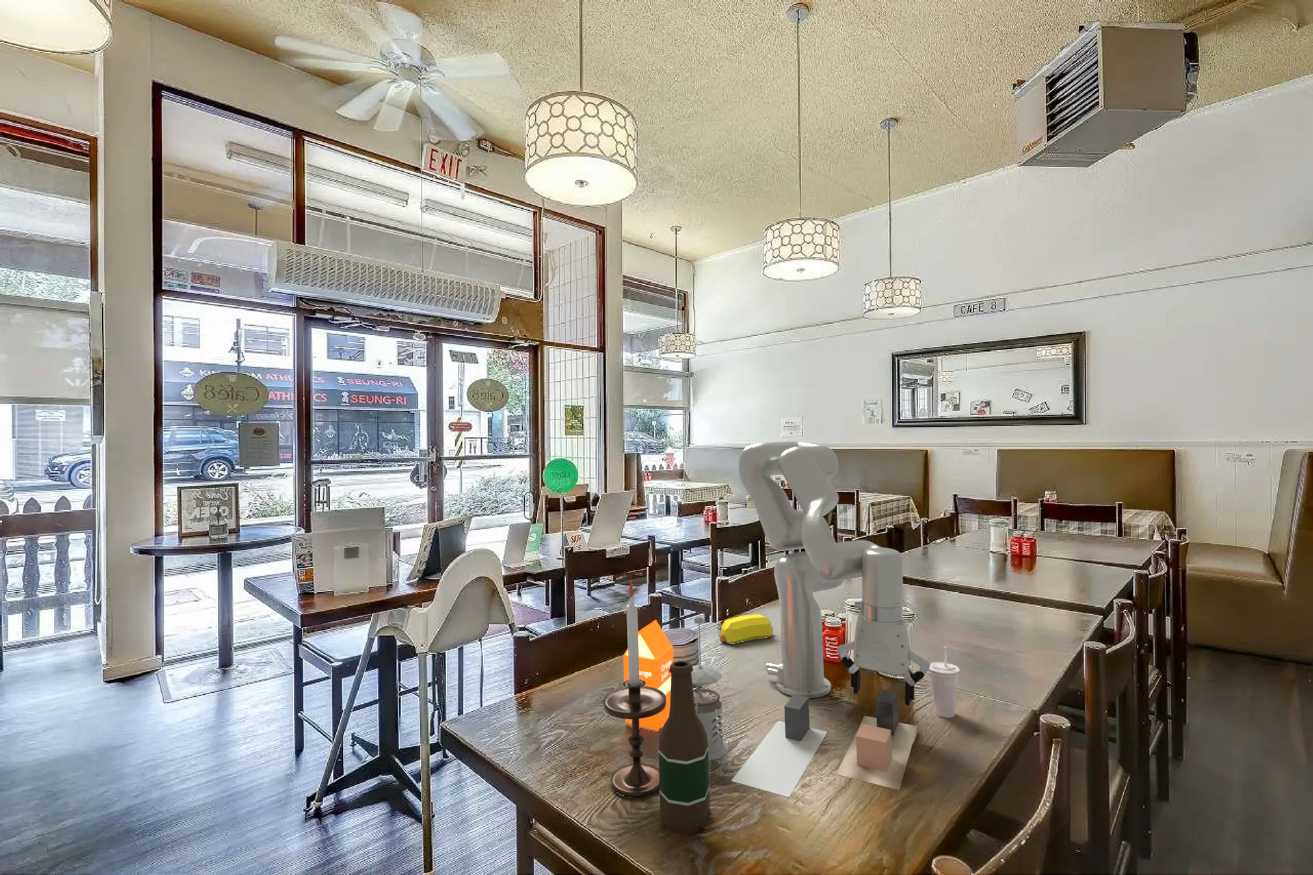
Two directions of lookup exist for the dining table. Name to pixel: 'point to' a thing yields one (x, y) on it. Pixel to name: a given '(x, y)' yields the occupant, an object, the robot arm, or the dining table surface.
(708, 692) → the french press
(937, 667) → the smoothie
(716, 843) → the dining table surface
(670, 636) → the can
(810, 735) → the grey strip
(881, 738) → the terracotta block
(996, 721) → the dining table surface
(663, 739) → the beer bottle
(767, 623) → the yellow rounded bar
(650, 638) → the orange juice
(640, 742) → the candlestick
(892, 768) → the maple strip
